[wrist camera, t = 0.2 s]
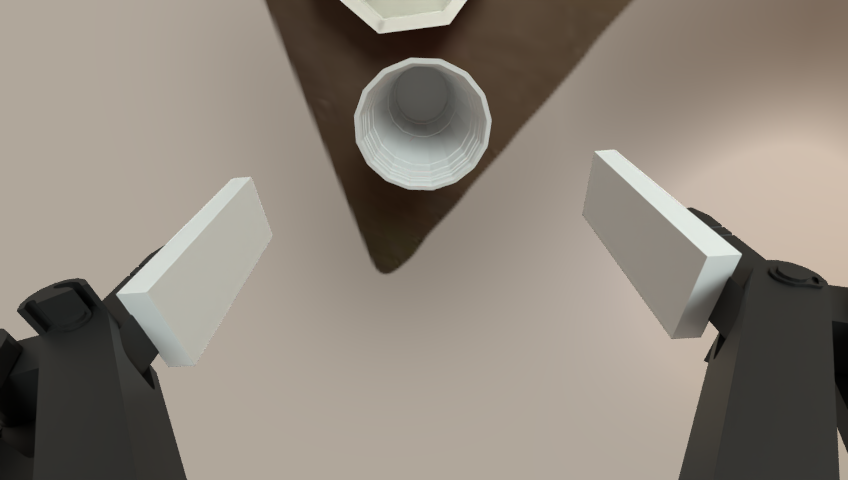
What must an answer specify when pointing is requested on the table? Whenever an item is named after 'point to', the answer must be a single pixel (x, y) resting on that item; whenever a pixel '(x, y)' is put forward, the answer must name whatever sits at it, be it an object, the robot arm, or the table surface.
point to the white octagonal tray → (404, 13)
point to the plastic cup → (422, 123)
